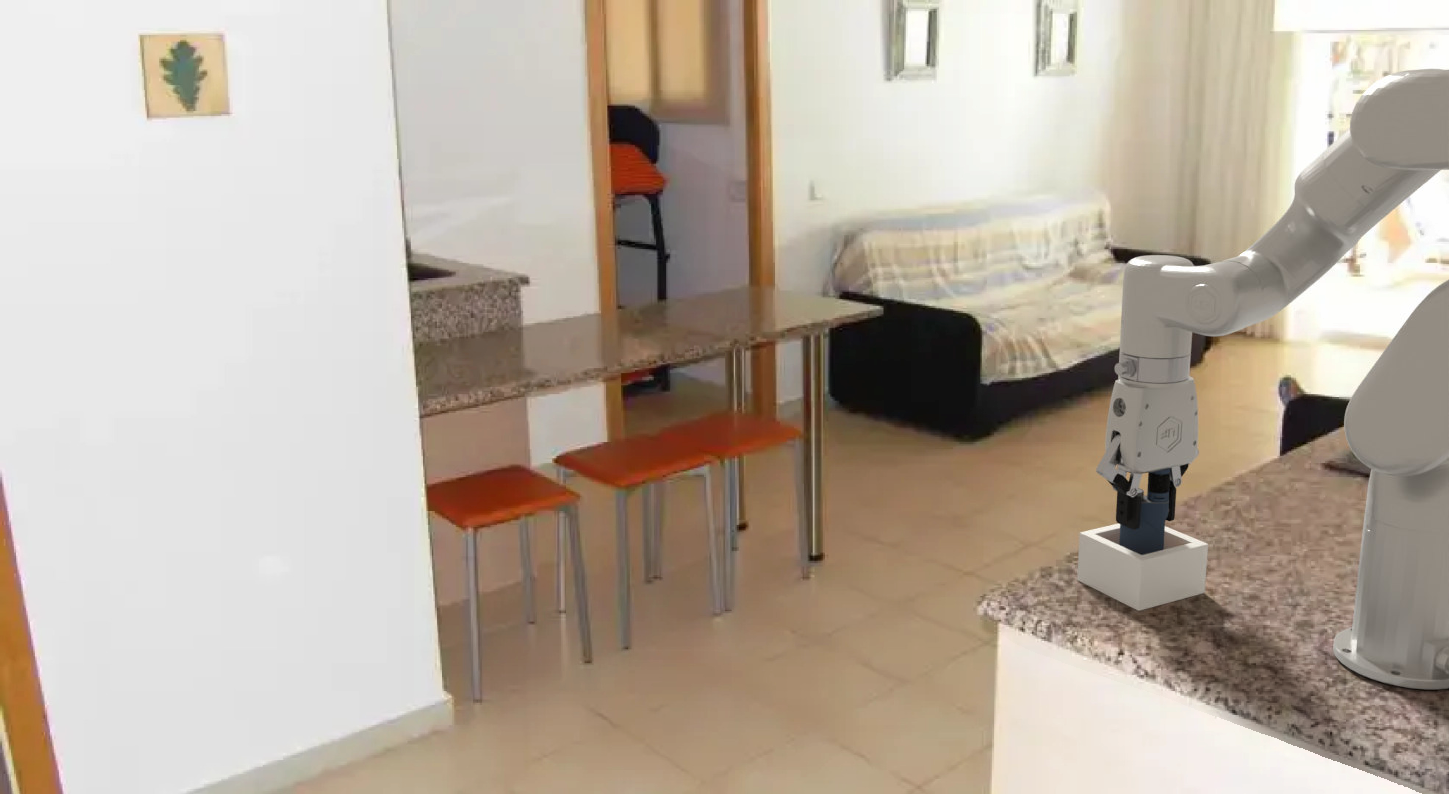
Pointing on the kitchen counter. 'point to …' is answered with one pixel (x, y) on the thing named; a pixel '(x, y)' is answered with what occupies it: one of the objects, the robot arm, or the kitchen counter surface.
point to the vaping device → (1150, 516)
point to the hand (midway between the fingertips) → (1145, 520)
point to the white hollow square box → (1142, 568)
